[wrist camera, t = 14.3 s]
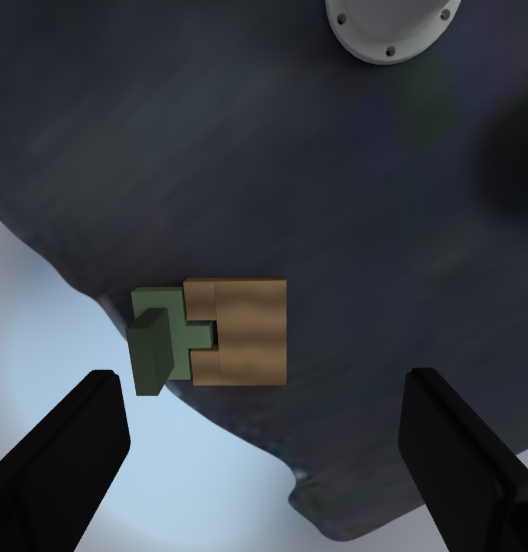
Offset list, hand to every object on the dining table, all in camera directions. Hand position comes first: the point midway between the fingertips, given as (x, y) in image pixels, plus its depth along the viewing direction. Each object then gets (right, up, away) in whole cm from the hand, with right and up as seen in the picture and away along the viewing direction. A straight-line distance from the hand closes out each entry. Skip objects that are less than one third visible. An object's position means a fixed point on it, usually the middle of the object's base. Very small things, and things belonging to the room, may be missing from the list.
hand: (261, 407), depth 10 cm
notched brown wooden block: (-3, -3, +28) cm, 28 cm away
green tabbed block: (-11, -3, +28) cm, 31 cm away
